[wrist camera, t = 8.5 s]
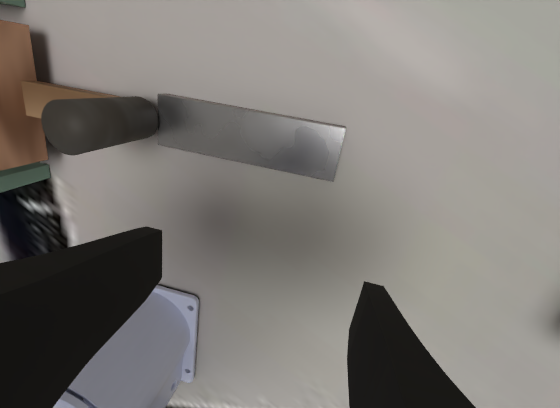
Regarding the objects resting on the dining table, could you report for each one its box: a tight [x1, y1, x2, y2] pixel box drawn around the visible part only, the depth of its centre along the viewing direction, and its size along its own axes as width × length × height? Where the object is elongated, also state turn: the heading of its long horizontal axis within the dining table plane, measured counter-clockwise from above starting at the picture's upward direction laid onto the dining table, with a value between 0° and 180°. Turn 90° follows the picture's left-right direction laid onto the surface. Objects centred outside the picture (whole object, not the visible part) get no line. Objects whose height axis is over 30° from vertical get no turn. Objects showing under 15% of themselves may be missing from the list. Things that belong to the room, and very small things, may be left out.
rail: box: [158, 94, 346, 181], centre depth 18 cm, size 3×11×1 cm, turn 81°
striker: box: [0, 20, 158, 171], centre depth 16 cm, size 8×10×5 cm
